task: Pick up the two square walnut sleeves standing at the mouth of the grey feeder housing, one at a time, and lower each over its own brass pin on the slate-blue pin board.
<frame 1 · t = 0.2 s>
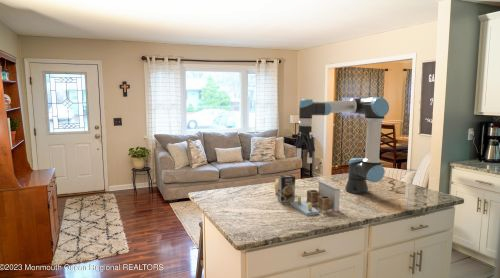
hand: (304, 160, 200), 27 cm above the worktop, tool pointing down, fingers open, 13 cm apart
sleeve 1: (313, 204, 203), on the worktop
sleeve 2: (324, 211, 191), on the worktop
coffee box: (286, 201, 209), on the worktop
pin board: (304, 209, 194), on the worktop
feeder housing: (328, 206, 199), on the worktop
sculpture: (282, 193, 225), on the worktop
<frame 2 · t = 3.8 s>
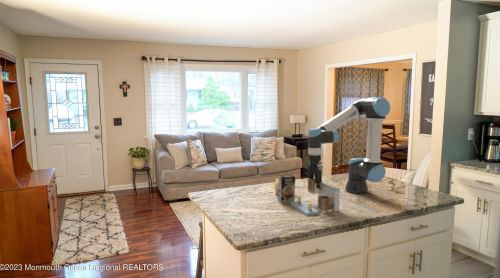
hand: (314, 191, 202), 8 cm above the worktop, tool pointing down, fingers closed on sleeve 1, 6 cm apart
sleeve 1: (314, 192, 202), point 7 cm above the worktop, touching gripper
everything else where it was.
when the fingers open (2 cm above the worktop, at t = 8.2 s): sleeve 1 stays where it is, resting on pin board.
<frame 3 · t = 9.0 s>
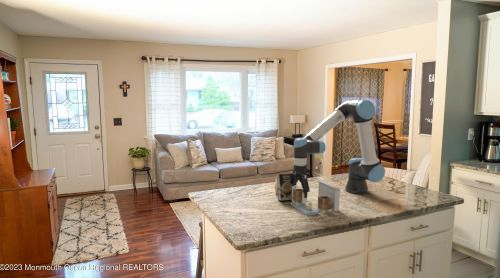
hand: (299, 199, 200), 4 cm above the worktop, tool pointing down, fingers open, 13 cm apart
sleeve 1: (299, 203, 200), point 1 cm above the worktop, touching pin board
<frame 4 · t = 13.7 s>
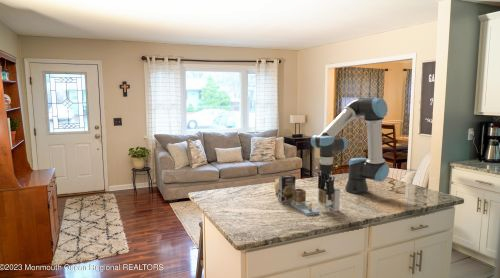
hand: (325, 203, 191), 4 cm above the worktop, tool pointing down, fingers closed on sleeve 2, 6 cm apart
sleeve 2: (325, 203, 191), point 4 cm above the worktop, touching gripper
when the fingers open (2 cm above the worktop, at t = 18.2 s): sleeve 2 stays where it is, resting on pin board.
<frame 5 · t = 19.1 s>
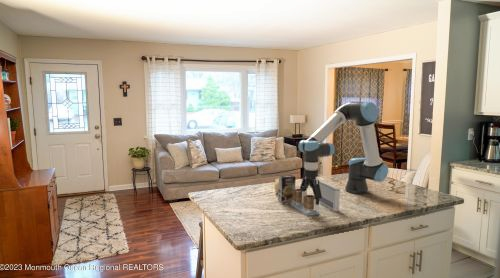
hand: (310, 206, 188), 4 cm above the worktop, tool pointing down, fingers open, 13 cm apart
sleeve 2: (309, 210, 188), point 1 cm above the worktop, touching pin board
everything else where it was.
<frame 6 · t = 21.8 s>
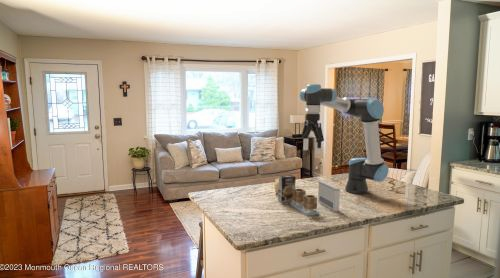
hand: (311, 152, 183), 35 cm above the worktop, tool pointing down, fingers open, 13 cm apart
nothing on the worktop moved.
at the end: sleeve 1 0.0 cm from the target spot on the pin board, point 1.5 cm above the pin board's base; sleeve 2 0.0 cm from the target spot on the pin board, point 1.5 cm above the pin board's base; the gripper is holding nothing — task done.
